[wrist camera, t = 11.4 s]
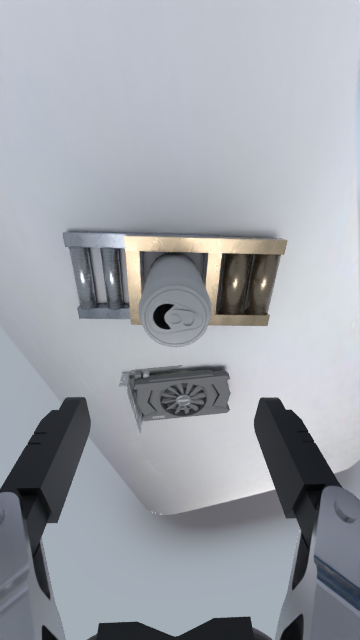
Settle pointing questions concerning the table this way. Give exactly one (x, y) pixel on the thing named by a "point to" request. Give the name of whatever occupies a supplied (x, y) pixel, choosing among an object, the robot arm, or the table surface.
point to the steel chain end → (111, 270)
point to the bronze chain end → (216, 273)
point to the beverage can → (174, 302)
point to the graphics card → (175, 393)
